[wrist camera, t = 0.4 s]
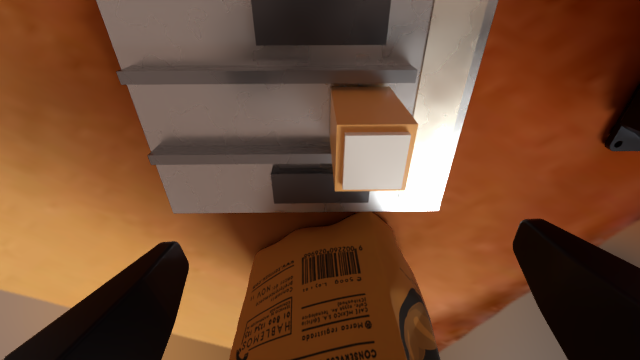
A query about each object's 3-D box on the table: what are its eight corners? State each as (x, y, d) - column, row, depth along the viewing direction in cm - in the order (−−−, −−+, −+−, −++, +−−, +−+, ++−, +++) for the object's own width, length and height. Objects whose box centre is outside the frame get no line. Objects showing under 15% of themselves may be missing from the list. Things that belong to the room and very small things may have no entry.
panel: (488, -45, 14) (530, -54, 11) (428, 193, 21) (444, 222, 19) (107, -45, 14) (56, -53, 11) (184, 195, 21) (165, 225, 19)
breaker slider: (389, 86, 15) (420, 127, 10) (382, 139, 16) (407, 194, 12) (330, 86, 15) (337, 128, 10) (329, 140, 16) (335, 195, 12)
